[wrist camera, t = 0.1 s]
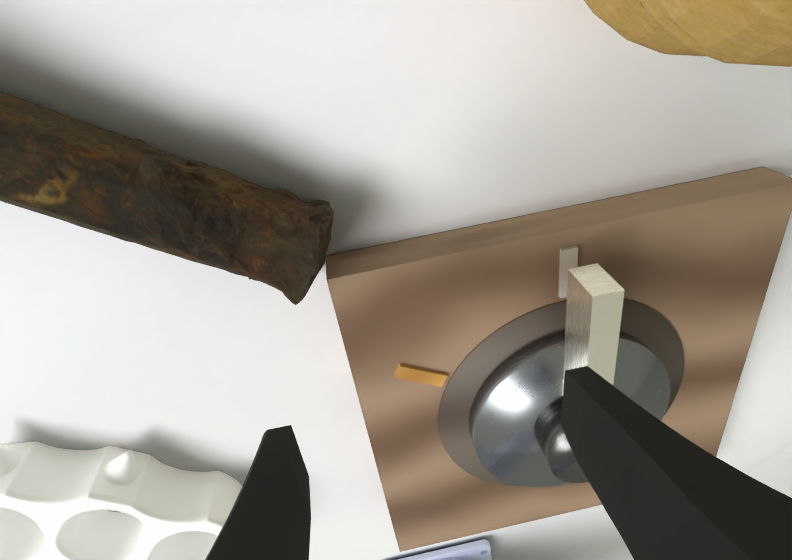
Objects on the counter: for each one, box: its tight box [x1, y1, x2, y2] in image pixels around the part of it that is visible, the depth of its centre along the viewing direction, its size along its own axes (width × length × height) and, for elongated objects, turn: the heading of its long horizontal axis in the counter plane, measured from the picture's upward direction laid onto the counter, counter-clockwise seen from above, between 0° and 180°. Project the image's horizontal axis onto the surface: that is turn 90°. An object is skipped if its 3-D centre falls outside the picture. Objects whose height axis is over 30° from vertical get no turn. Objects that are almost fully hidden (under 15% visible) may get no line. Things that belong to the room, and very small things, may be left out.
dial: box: [469, 263, 671, 487], centre depth 23 cm, size 14×10×3 cm
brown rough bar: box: [0, 92, 333, 305], centre depth 15 cm, size 19×4×5 cm, turn 62°
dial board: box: [326, 167, 792, 552], centre depth 26 cm, size 20×20×2 cm
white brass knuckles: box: [0, 441, 242, 560], centre depth 26 cm, size 3×18×15 cm
